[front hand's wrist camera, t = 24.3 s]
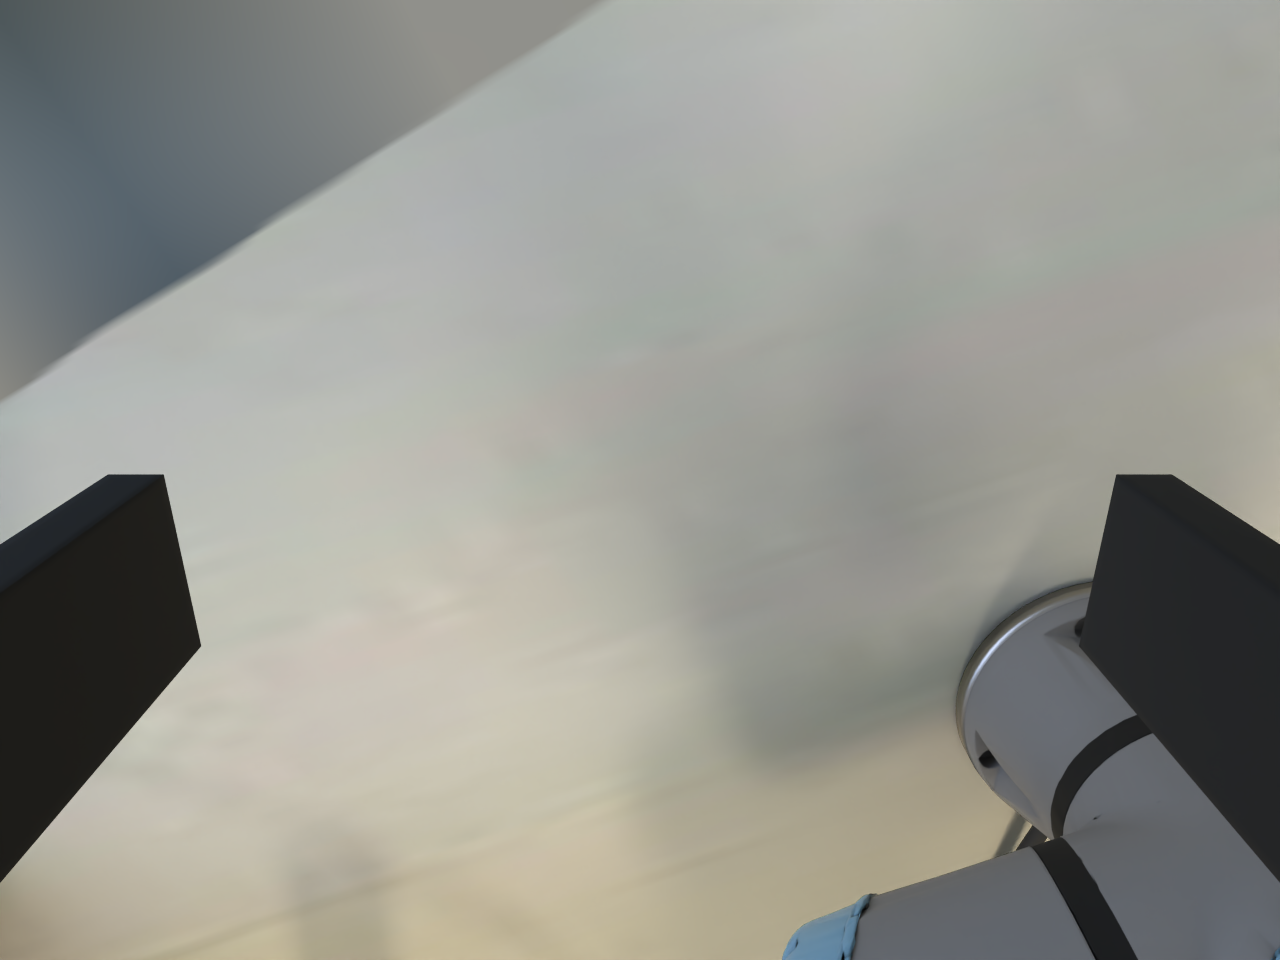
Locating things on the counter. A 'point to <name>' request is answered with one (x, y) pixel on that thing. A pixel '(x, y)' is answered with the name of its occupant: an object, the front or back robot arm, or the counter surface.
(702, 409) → the counter surface
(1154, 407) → the counter surface
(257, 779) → the counter surface
